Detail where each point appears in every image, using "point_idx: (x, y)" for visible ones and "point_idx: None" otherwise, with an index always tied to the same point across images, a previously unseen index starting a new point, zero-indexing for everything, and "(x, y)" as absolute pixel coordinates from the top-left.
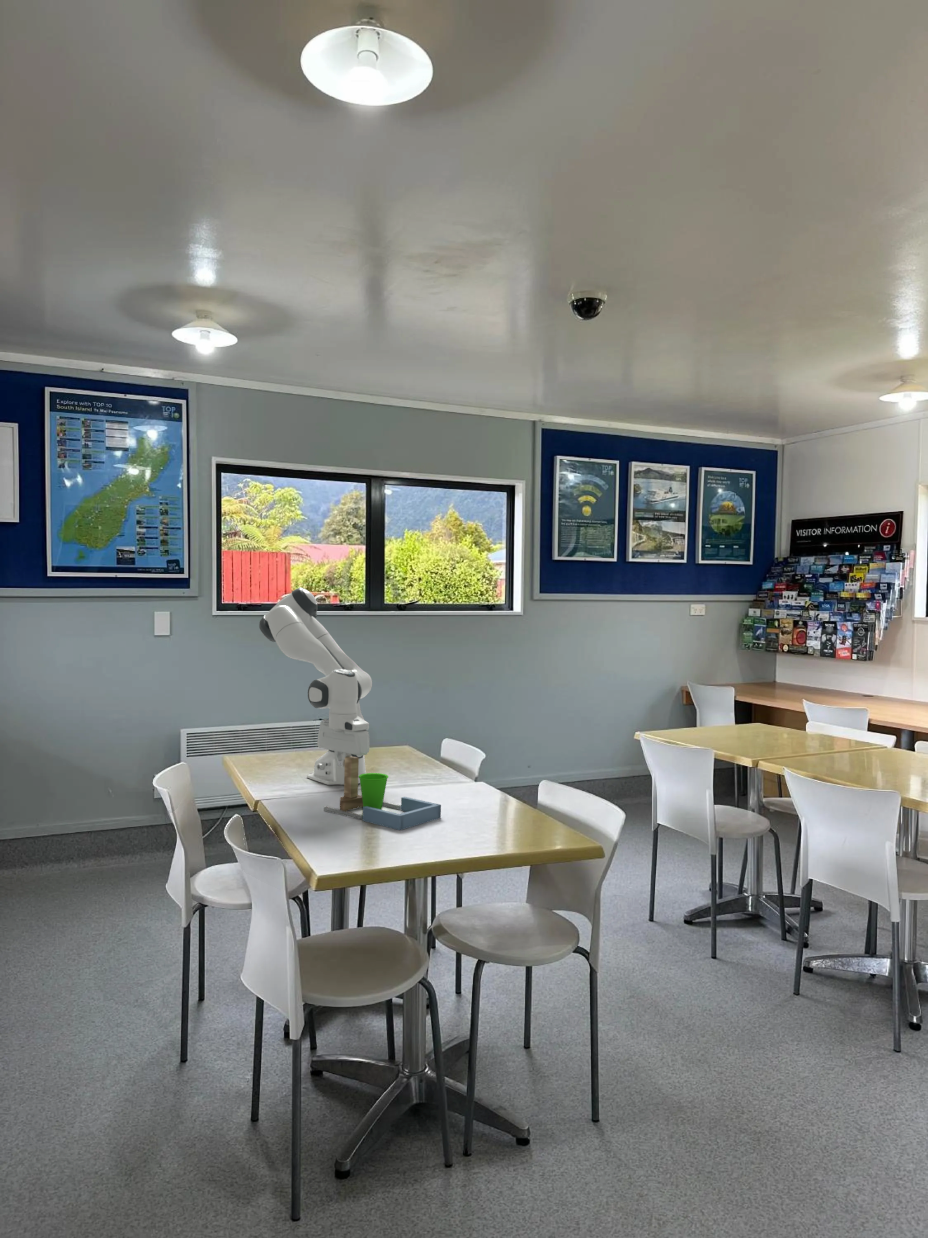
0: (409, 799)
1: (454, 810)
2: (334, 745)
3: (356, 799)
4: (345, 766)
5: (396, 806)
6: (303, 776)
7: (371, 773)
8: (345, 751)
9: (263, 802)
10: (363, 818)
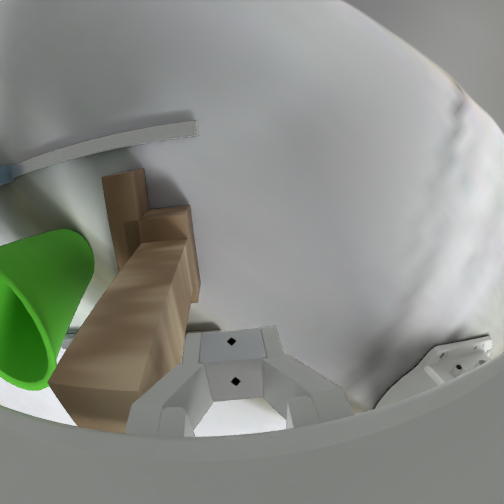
0: None
1: (33, 396)
2: (359, 489)
3: (116, 252)
4: (145, 329)
5: (71, 339)
6: (496, 335)
7: (50, 372)
8: (72, 439)
9: (438, 69)
10: (6, 166)
